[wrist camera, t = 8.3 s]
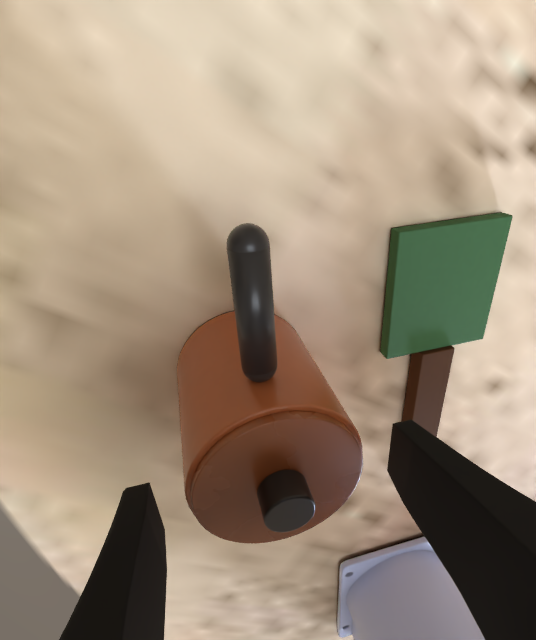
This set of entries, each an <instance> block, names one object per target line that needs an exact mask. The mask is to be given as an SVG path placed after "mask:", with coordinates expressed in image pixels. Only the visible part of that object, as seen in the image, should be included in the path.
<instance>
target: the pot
mask: <svg viewBox="0 0 536 640" xmlns="http://www.w3.org/2000/svg"><path fill="white" fill-rule="evenodd" d="M227 254H228V262H229V270H230V278H231V286H232V294H233V302H234V310H235V311H233V312H228V313H225V314H222V315H219V316H217V317H215V318H213V319H211V320H209V321H208V322H206V323H205V324H203V325H202V326H201V327H199V328H198V329H197V330H196V331H195V332H194V333H193V334H192V335H191V336H190V338H189V339H188V340H187V342H186V343H185V345H184V347H183V349H182V351H181V353H180V356H179V359H178V365H177V380H178V395H179V410H180V426H181V441H182V457H183V472H184V487H185V496H186V500H187V503H188V505H189V508H190V509H191V511H192V512H193V514H194V515H195V516H196V518H197V519H198V521H199V523H200V524H201V525H202V526H203V527H204V528H205V529H206V530H208V531H209V532H210V533H212V534H214V535H216V536H218V537H220V538H222V539H225V540H229V541H233V542H239V543H265V542H271V541H277V540H281V539H285V538H288V537H291V536H294V535H297V534H299V533H302V532H304V531H306V530H308V529H310V528H312V527H314V526H316V525H317V524H319V523H321V522H322V521H324V520H325V519H327V518H328V517H329V516H331V515H332V514H333V513H334V512H336V511H337V510H338V509H339V508H340V507H341V506H342V505H343V504H344V503H345V502H346V500H347V499H348V498H349V497H350V495H351V494H352V492H353V491H354V489H355V488H356V486H357V483H358V481H359V479H360V476H361V473H362V466H363V456H362V443H361V438H360V436H359V433H358V431H357V429H356V428H355V426H354V425H353V423H352V421H351V420H350V418H349V417H348V415H347V413H346V412H345V410H344V408H343V407H342V405H341V404H340V402H339V400H338V399H337V397H336V395H335V394H334V392H333V391H332V389H331V387H330V386H329V384H328V382H327V381H326V379H325V378H324V376H323V374H322V373H321V371H320V370H319V368H318V366H317V365H316V363H315V361H314V360H313V358H312V357H311V355H310V353H309V352H308V350H307V348H306V347H305V345H304V344H303V342H302V340H301V339H300V337H299V336H298V334H297V332H296V331H295V330H294V328H293V327H292V326H291V325H290V324H289V323H287V322H286V321H285V320H283V319H282V318H280V317H278V316H276V315H274V304H273V289H272V274H271V259H270V244H269V239H268V236H267V234H266V233H265V231H264V230H263V229H262V228H260V227H259V226H257V225H254V224H249V223H246V224H241V225H239V226H237V227H235V228H234V229H233V230H232V231H231V233H230V234H229V236H228V239H227Z"/></svg>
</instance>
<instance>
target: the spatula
mask: <svg viewBox="0 0 536 640" xmlns="http://www.w3.org/2000/svg"><path fill="white" fill-rule="evenodd" d="M511 221H512V215H509V214H505V213H502V212H500V213H494V214H487V215H480V216H473V217H466V218H459V219H452V220H445V221H438V222H431V223H425V224H418V225H411V226H404V227H397V228H392V229H391V239H390V250H389V261H388V272H387V283H386V294H385V305H384V316H383V327H382V338H381V349H380V352H381V353H382V354H383V355H384V357H385V358H386V359H389V358H394V357H398V356H403V355H408V354H411V361H410V368H409V376H408V383H407V390H406V397H405V404H404V412H403V419H402V422H403V421H407V420H413V421H414V422H416V423H417V424H418V425H420V426H421V427H423V428H424V429H425V430H427V431H428V432H430V433H431V434H433V435H434V436H435V437H437V432H438V427H439V422H440V417H441V412H442V407H443V402H444V397H445V392H446V387H447V382H448V378H449V373H450V368H451V363H452V358H453V353H454V347H452V346H451V345H455V344H460V343H465V342H470V341H474V340H479V339H483V336H484V332H485V328H486V324H487V319H488V315H489V311H490V307H491V303H492V299H493V295H494V291H495V287H496V282H497V278H498V274H499V270H500V266H501V262H502V258H503V254H504V250H505V245H506V241H507V237H508V233H509V229H510V225H511Z"/></svg>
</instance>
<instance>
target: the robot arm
mask: <svg viewBox="0 0 536 640" xmlns="http://www.w3.org/2000/svg"><path fill="white" fill-rule="evenodd" d="M387 471H388V473H389V475H390V477H391V479H392V481H393V483H394V485H395V487H396V489H397V491H398V493H399V495H400V497H401V499H402V501H403V503H404V505H405V506H406V508H407V510H408V511H409V513H410V514H411V516H412V518H413V519H414V521H415V522H416V524H417V525H418V527H419V529H420V530H421V532H422V533H423V535H424V537H420V538H417V539H414V540H411V541H407V542H404V543H401V544H398V545H394V546H391V547H388V548H384V549H381V550H378V551H375V552H371V553H368V554H365V555H361V556H358V557H355V558H352V559H348V560H346V561H344V562H342V563H341V565H340V572H339V596H338V619H337V632H338V635H339V637H346V636H349V635H353V638H354V640H536V502H535V501H533V500H532V499H530V498H528V497H527V496H525V495H523V494H522V493H520V492H518V491H517V490H515V489H513V488H512V487H510V486H508V485H507V484H505V483H503V482H502V481H500V480H499V479H497V478H496V477H494V476H492V475H491V474H489V473H488V472H486V471H485V470H483V469H482V468H480V467H479V466H477V465H476V464H474V463H473V462H471V461H470V460H468V459H467V458H465V457H464V456H462V455H461V454H459V453H458V452H457V451H455V450H454V449H452V448H451V447H449V446H448V445H447V444H445V443H444V442H442V441H441V440H440V439H438V438H437V437H435V436H434V435H433V434H431V433H430V432H428V431H427V430H425V429H424V428H423V427H421V426H420V425H418V424H417V423H416V422H414V421H413V420H407V421H403V422H399V423H394V424H393V427H392V435H391V444H390V452H389V461H388V469H387ZM166 577H167V564H166V545H165V529H164V526H163V523H162V520H161V517H160V514H159V510H158V507H157V504H156V501H155V498H154V495H153V492H152V489H151V486H150V483H146V484H142V485H137V486H133V487H129V488H126V489H125V490H124V491H123V493H122V496H121V500H120V503H119V506H118V508H117V511H116V514H115V517H114V520H113V522H112V525H111V527H110V530H109V533H108V535H107V538H106V540H105V543H104V545H103V547H102V550H101V552H100V554H99V557H98V559H97V561H96V564H95V566H94V568H93V571H92V573H91V575H90V578H89V580H88V582H87V584H86V586H85V588H84V591H83V593H82V595H81V597H80V599H79V601H78V603H77V605H76V607H75V609H74V612H73V613H72V615H71V618H70V620H69V622H68V624H67V626H66V628H65V630H64V631H63V633H62V635H61V637H60V639H59V640H164V624H165V602H166Z"/></svg>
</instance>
